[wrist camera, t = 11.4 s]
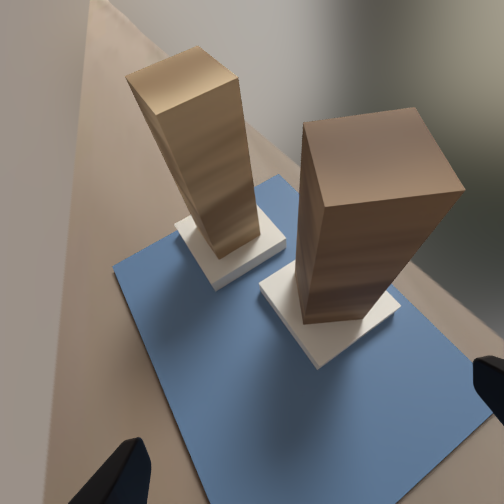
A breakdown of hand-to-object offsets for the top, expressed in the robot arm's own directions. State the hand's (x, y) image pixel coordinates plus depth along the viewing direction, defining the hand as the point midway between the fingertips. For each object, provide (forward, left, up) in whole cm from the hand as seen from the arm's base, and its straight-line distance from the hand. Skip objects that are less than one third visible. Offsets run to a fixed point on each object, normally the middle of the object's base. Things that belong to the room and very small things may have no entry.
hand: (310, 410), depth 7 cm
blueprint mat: (+6, -2, -13) cm, 14 cm away
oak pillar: (+14, -3, -11) cm, 18 cm away
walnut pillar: (+5, -6, -10) cm, 13 cm away
